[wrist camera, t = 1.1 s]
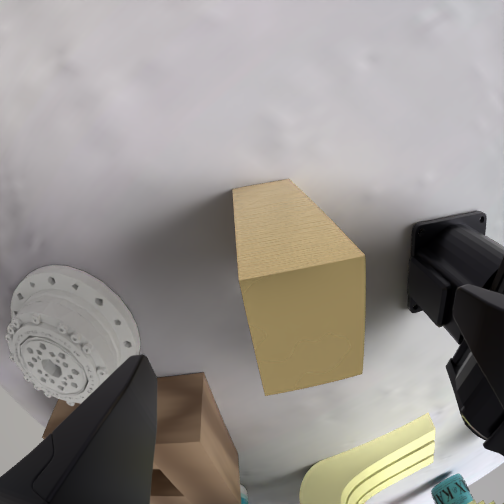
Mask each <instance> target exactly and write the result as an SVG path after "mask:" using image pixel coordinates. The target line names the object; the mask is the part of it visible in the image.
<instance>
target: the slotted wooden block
mask: <svg viewBox="0 0 504 504" xmlns="http://www.w3.org/2000/svg"><path fill="white" fill-rule="evenodd" d="M79 405H80V403H75V404H74V406H70V405H68V404H67V403H66V401H64V400H61V399H58V401H57V404H56V406H55V408H54V410H53V413H52V415H51V417H50V419H49V422H48V424H47V427H46V429H45V431H44V434H43V436H42V438H43V439H45V438H46V437H47V436H48V435H49V434H50V433H52V431H53V430H54V429H55V428H56V427H57V426H58V425H59V424H60V423H61V422H63V421H64V420H65V419H66V418H67V417H68V416H69V415H70V414H71V413H72V412H73V411H74V410H75V409H76V408H77V407H78V406H79ZM150 504H241V492H240V477H239V461H238V453H237V451H236V448H235V446H234V444H233V442H232V440H231V437H230V435H229V433H228V430H227V428H226V426H225V424H224V421H223V419H222V417H221V414H220V412H219V409H218V407H217V405H216V402H215V400H214V397H213V395H212V392H211V390H210V387H209V385H208V382H207V380H206V377H205V375H204V372H203V373H195V374H187V375H178V376H169V377H158V378H157V433H156V443H155V452H154V461H153V472H152V482H151V494H150Z"/></svg>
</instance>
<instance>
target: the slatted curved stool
mask: <svg viewBox="0 0 504 504" xmlns="http://www.w3.org/2000/svg"><path fill="white" fill-rule="evenodd" d="M433 439H435V427H434V425H433V423H432V420H431V418H430V415H429V413H427V414H425V415H423V416H421V417H419V418H417V419H416V420H414V421H412V422H410V423H408V424H406V425H404V426H402V427H400V428H398V429H396V430H394V431H392V432H390V433H387V434H385V435H383V436H381V437H379V438H377V439H374V440H372V441H370V442H367V443H365V444H363V445H360V446H358V447H356V448H353V449H351V450H348V451H346V452H343V453H340V454H338V455H335V456H332V457H330V458H327V459H324V460H321V461H319V462H318V463H316V464H315V465H314V466H312V467H311V468H310V469H309V471H308V472H307V473H306V475H305V477H304V479H303V481H302V483H301V487H300V492H299V499H300V504H364V503H365V502H366V501H367V500H368V499H370V498H371V497H372V496H374V495H375V494H377V493H378V492H380V491H381V490H383V489H385V488H386V487H388V486H390V485H392V484H394V483H396V482H397V481H399V480H401V479H403V478H405V477H407V476H409V475H410V474H412V473H414V472H416V471H418V470H420V469H422V468H424V467H426V466H427V465H429V464H431V463H433V458H434V455H433V453H434V444H435V442H434V440H433ZM468 504H476V502H475V500H473V501H471V502H469V503H468ZM478 504H485V503H484V501H481V502H480V503H478ZM489 504H495V502H494V501H493V502H491V503H489ZM503 504H504V503H503Z"/></svg>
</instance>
